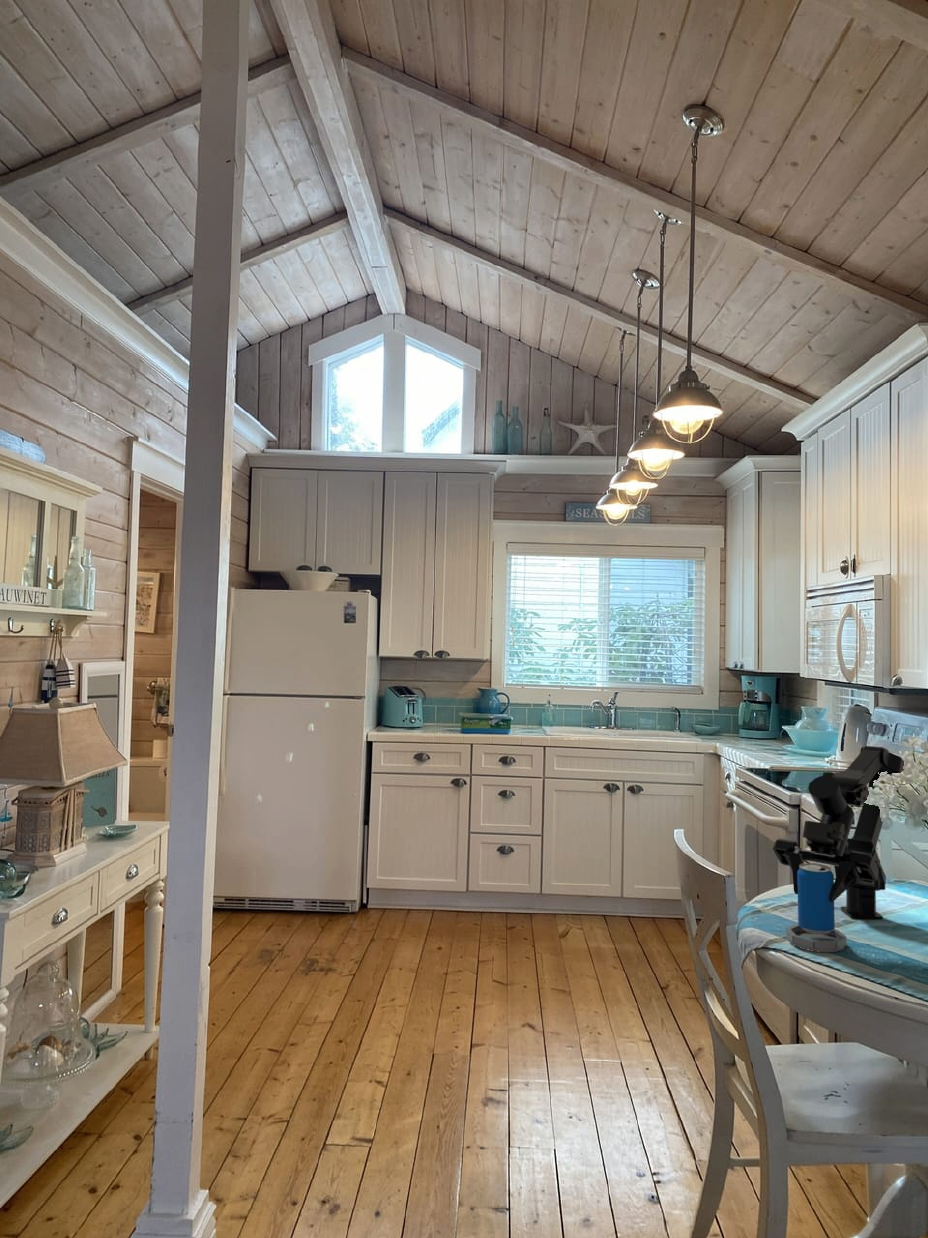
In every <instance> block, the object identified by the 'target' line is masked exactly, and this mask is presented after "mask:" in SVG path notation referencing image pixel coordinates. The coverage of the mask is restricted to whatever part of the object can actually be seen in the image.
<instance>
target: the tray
mask: <svg viewBox="0 0 928 1238" xmlns="http://www.w3.org/2000/svg"><path fill="white" fill-rule="evenodd" d="M785 936H786V937H787V941H789V942H790V943H791V944H794V945H796V946H798V947H801V948H804V949H809V950H813V951H819V952H818V953H820V952H835V953H839V952H838V951H840V952H841V950H842V951H844V949H845V945H847V936H846V935H845V934H844V933H842V932H841V931H840V930H839V929H834V930H832V931H831V932H830V933H828V934H814V933H809V932H806V931H804V930H803V929H802V927H800V926H799V925H798V923H795V924H793V925H791V926H789V927H787V928H785ZM789 942H788V943H789ZM790 943H789V944H790ZM791 944H790V945H791Z"/></svg>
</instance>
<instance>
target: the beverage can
mask: <svg viewBox="0 0 928 1238" xmlns="http://www.w3.org/2000/svg"><path fill="white" fill-rule="evenodd" d="M834 876H835V875H834V872H832V868H831V867H830V866H829V865H827V864H823V863H816V862H815V863H814V862H813V863H811V862H810V863H809V862H808V863H807V862H806V863H805V862H804V863H803V864H801V865H800V869H799V870H798V872H797V880H798V894H797V924H798V925H799V926H800V927H802V929H803V930H804V931H806V932H809V933H814V934H828V933H830V932H831V931H832V930H834V929H835V927H836V925H835V922H836V921H835V900H834V901H833V902H831V901H830V894H831V890H832V887H833V884H834V882H835V877H834Z"/></svg>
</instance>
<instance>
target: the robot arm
mask: <svg viewBox="0 0 928 1238" xmlns="http://www.w3.org/2000/svg"><path fill="white" fill-rule="evenodd" d="M904 762H905V760H904V759H903V758H902V757H901V756H899V755H897V754H894V753H892V752H890V751H889V750H888V749H887V748H886V747H883V746H874V745H873V746H872V745H865V746H862V747H861V748H860V751H859V754H858V755H857V756H856V757H855V759H854V760H853V761H852V762H851V763H850V764H849V765H848V767H847V768H846V769H845V770H841V771H837V772H832V771H824V772H823V774H822V775H820V776H818V777H816V778H814V779H812V780H811V782H809V783H808V787H807V788H808V792H809V794H810V797H811V799H812V801H813V803H814V805H815V807H816V810H817V811H818V812H819V813H821V817H820V820H819V821H811V820H805V821H804V823H803V824H804V825H803V832H802V838H804V839H807V840H806V845H807V847H810V850H809V849H803V848H801V847H799V844H798V843H797V841H796V840H789V839H784V838H778V839H776V840H775V841H774V842H773V843H774V844H773V847H772V850H773V852H774V854H775V856H776V858H777V859H778V861H779V863H780V864H782V865H783V866H788V867H790V869H791V871H792V883H793V893H794V894H795V895H798V880H797V872H798V870H799V869H800V865H801V864H804V863H805V861H809V862H813V863H814V862H815V863H816V864H822V865H828V866H829V865H830V866H833V867H834V871H835V872H834V873H835V878H834V884H833V887H832V890H831V894H830V901H831V902H833V901H834V902H835V901H836V899H838V898H839V897H840V896H841V895H842V894H843V893H844V892H845V895H846V896H845V898H846V903H845V905H846V906H840V908H839V909H840V910H841V911H842V912H843V913H844V914H846V915H847V916H848V917H850V918H852V919H879V920H882V919H883V915H882V914H880V913H879V912H878V911H877V894H876V893H877V892H880V891H885V890H886V889H887V888H886V883H887V880H886V879H887V875H886V874H885V872H884V869H883V867H882V866H883V865H882V863H881V860H880V857H879V854H878V852H877V849H876V848H877V844H878V841H879V838H880V834H881V831H882V827H883V823H884V821H883V822H882V821H881V818H880V809H879V807H878V806H875V805H869V804H866V803H864V802H865V801H866V800H867V797H868V795H869V791H868V787H873V783H874V782H873V781H874V780H877V779H878V778H879V776H880V775H879V774H880V773H881V772H885V771H887V772H888V773H887V774H892V773H901V772H902V771H903V770H904V769H903V766H904ZM878 772H879V774H878ZM868 783H869V784H868ZM851 806H852V807H861V808H860V809H861V810H860V814H859V817H858V819H857V823H856V822H855V812H854V810H853V809H852V807H851ZM855 823H856V826H855V830H854V833H853V836H852V837H851V838H849V836H850V831H851V828H852V825H855Z"/></svg>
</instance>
